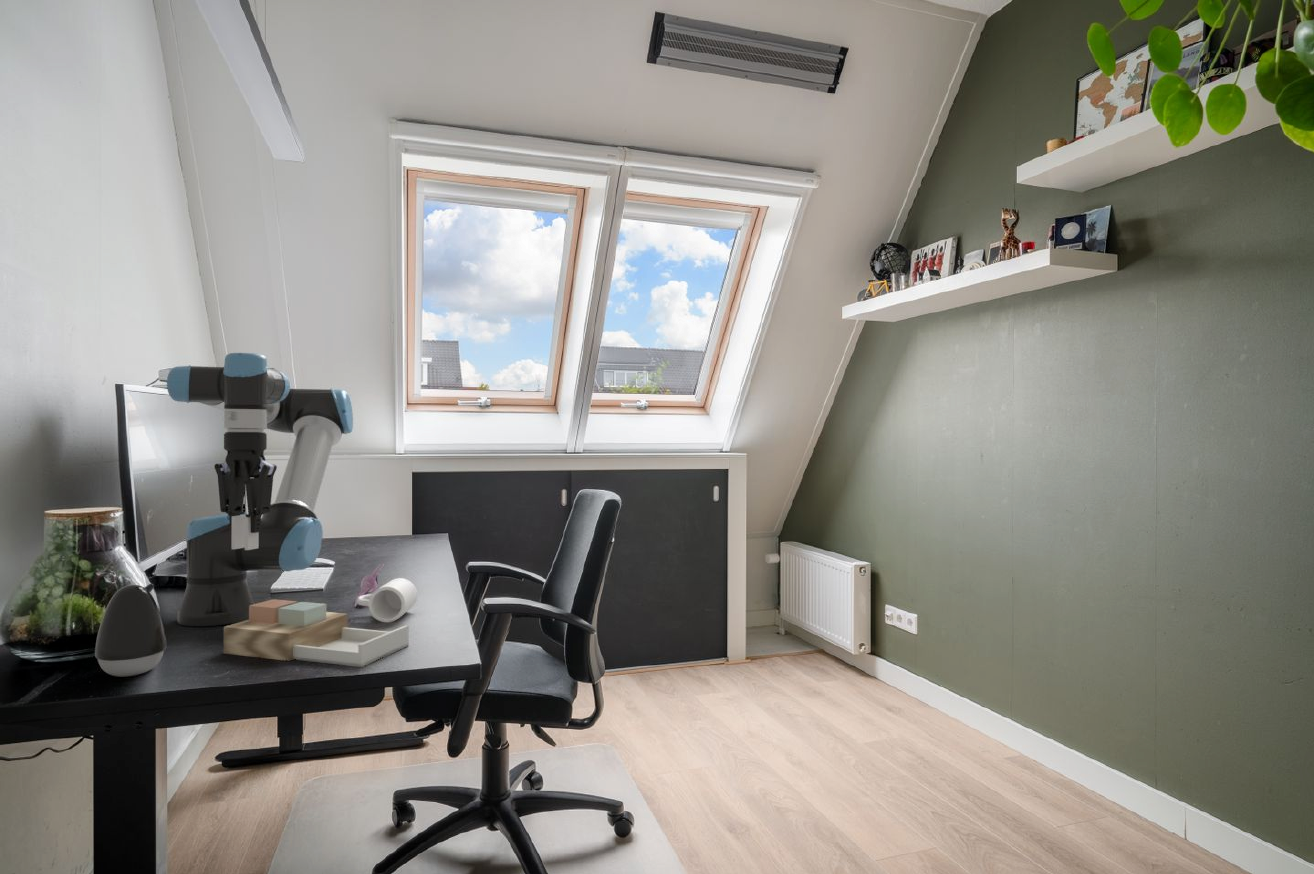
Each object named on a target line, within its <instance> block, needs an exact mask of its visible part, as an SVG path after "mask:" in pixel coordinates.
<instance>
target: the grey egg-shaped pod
mask: <svg viewBox="0 0 1314 874" xmlns="http://www.w3.org/2000/svg"><path fill="white" fill-rule="evenodd" d="M153 589H155V585H154V584H153V583H149V584H148V585H146V586H145V587H144V586H142V585H139V584H129V585H126V586H123V587H121V588H119V589H118V590H117V591H115V593H114V594H113V596H112V597H111V599H110V600H109V602H108V604H107V606H106V607H105V610H104V614H103V617H102V619H101V622H100V624H99V629H98V631H97V636H96V642H95V648H94V649H95V650H94V656H95V658H96V659H97V662H98V664H99V666H100V668H101V669H102V670H103V672H105V673H106V674H108V675H111V676H113V677H120V678H124V677H125V678H126V677H133V676H138V675H141V674H145V673H148V672H149V671H151V670H152V669H154V668H155V667H156V666H157V665H158V664H160V661H161V660H162V657H163V655H164V652H165V650H166V648H167V638H166V637H167V636H166V630H165V625H164V621H163V618H162V615H161V611H160V609H159V607H158V604H157V601H156V600H155V598H154V596H153V594H152V593H151V592H152V591H153Z"/></svg>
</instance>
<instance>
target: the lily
mask: <svg viewBox="0 0 1314 874" xmlns="http://www.w3.org/2000/svg"><path fill="white" fill-rule="evenodd" d="M384 565H385V563H381V564H379V565H377V567H376V568H375V570H374V572H373V573H372V574H366V575H365V576H364V577H363V578H362V580H361V583H360V589H361V591H360V592H359V593H358V594H357V596H356V598H355V599H354V606H355V608H356V606H357V605H358V603H357V599H358V598H359V597H360V596H362V595H368V594H371V593H373V592H374V591H375V590H377V589H378V588H379V583H378V573H379V572H380V571H381V569H382V568H383V567H384Z"/></svg>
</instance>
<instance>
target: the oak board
mask: <svg viewBox="0 0 1314 874" xmlns="http://www.w3.org/2000/svg"><path fill="white" fill-rule="evenodd" d="M348 615H349V614H348V613H343V612H333V611H331V612H330V611H326V619H325V620H322V621H319V622H316V623H313V624H310V625H307V626H293V625H283V624H278V623H274V624H273V623H263V622H253V621H249V619H247V620H244V621H240V622H235V623H231V624H230V625H229V624H228V625H226V626H224V627H223V654H224V655H225V654H226V655H232V656H233V655H235V656H244V657H250V658H251V657H252V658H253V657H254V658H259V657H260V658H261V659H269V660H270V659H271V660H277V661H286V660H287V661H288V662H289V661H293V660H294V659H293V646H294V645H304V646H313V647H320V646H322V645H325V644H327V643H330V642H333V641H335V640H338V639H341V638H342V628H344V627H347V628H349V627H348V624H349V623H348V621H349V620H348V617H349V616H348ZM260 658H259V659H260Z"/></svg>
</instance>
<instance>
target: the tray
mask: <svg viewBox="0 0 1314 874" xmlns="http://www.w3.org/2000/svg"><path fill="white" fill-rule="evenodd" d="M409 627H410V625H402V626H401V627H398V628H396V629H394V630H391V631H387V630H376V629H367V628H358V627H348V628H347V627H344V628H342V638H341V639H338V640H335V641H333V642H330V643H327V644H325V645H322V646H320V647H313V646H304V645H294V646H293V659H292V660H294V659H296V661H305V662H313V663H314V662H315V663H322V664H331V665H339V666H340V665H341V666H348V667H358V668H364V667H365V665H366V666H368V665H370V664H372V663H374V661H375V662H377V661H379V660H381V659H383V658H386V657H387V656H390V655H392V654H394V652H395V653H397V652H399V651H401V650H403V649H405V648H404V647H406V648H407V647H410V646H409V632H410V629H409ZM402 648H403V649H402ZM400 649H401V650H400ZM398 650H399V651H398ZM396 651H397V652H396ZM382 657H383V658H382ZM380 658H381V659H380ZM378 659H379V660H378ZM376 660H377V661H376Z"/></svg>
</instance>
